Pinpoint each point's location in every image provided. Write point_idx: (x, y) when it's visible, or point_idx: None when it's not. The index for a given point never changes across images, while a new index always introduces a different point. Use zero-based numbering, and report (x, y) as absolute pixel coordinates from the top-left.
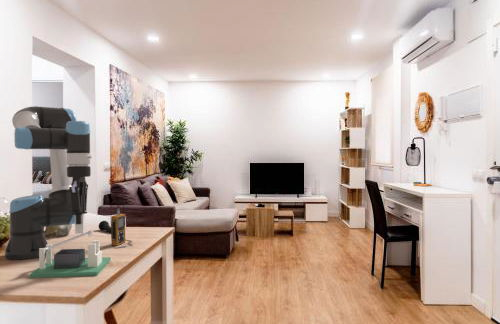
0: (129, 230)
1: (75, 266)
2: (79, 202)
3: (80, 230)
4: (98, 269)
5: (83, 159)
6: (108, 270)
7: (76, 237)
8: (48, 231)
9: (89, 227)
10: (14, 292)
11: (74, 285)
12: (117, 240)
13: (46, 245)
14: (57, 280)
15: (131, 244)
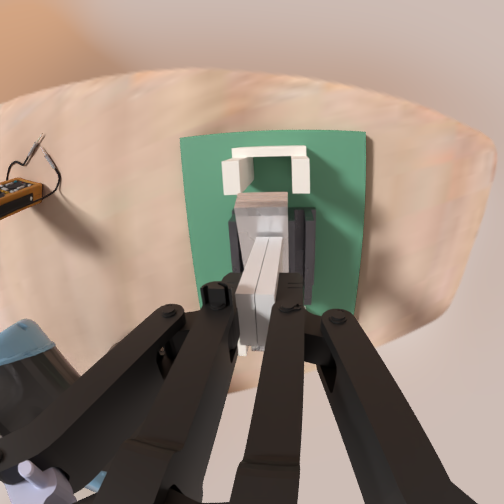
0: None
1: (315, 217)
2: (377, 387)
3: (281, 258)
4: (338, 133)
5: None
6: (308, 107)
7: (288, 261)
8: None
9: None
10: (444, 301)
11: (437, 179)
12: (31, 187)
13: (246, 353)
14: (389, 238)
15: (36, 144)
